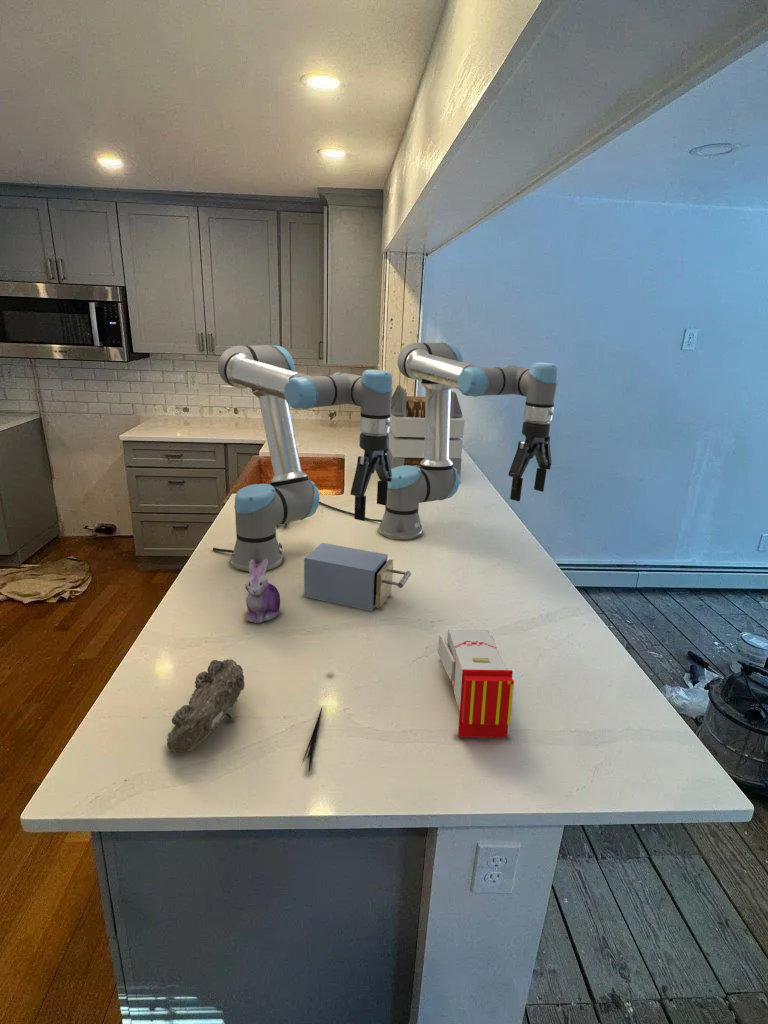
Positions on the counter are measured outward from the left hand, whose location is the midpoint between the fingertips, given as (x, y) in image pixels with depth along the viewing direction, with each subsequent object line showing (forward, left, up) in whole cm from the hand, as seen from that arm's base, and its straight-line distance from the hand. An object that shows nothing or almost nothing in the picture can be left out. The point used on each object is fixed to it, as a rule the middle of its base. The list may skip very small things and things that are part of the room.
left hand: (371, 511), depth 151 cm
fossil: (+6, -60, -24) cm, 65 cm away
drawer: (+1, -4, -23) cm, 23 cm away
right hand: (+30, +35, +2) cm, 46 cm away
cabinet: (-4, -6, -24) cm, 24 cm away
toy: (+43, -24, -24) cm, 54 cm away
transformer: (-50, +114, -24) cm, 127 cm away
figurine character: (-54, +24, -24) cm, 63 cm away
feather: (+23, -49, -24) cm, 59 cm away
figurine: (-13, -27, -24) cm, 38 cm away
